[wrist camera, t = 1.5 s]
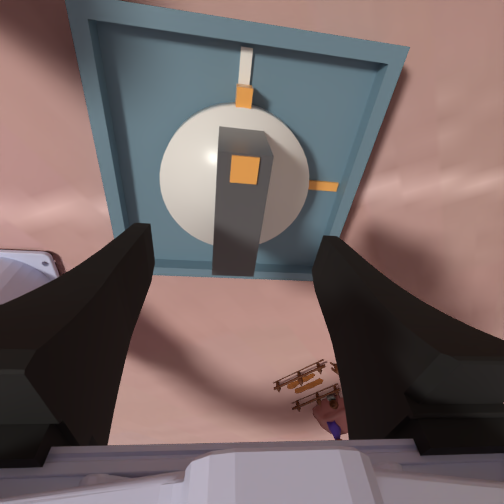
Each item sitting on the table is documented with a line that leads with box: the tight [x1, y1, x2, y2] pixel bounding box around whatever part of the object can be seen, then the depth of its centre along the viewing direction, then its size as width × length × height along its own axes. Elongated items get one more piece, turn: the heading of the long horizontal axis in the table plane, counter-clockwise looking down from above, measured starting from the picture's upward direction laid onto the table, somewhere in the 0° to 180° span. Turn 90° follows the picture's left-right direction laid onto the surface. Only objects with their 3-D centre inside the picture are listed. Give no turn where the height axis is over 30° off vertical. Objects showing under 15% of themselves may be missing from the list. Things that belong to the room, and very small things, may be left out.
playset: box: [274, 359, 348, 440], centre depth 37 cm, size 25×19×7 cm
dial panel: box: [65, 0, 410, 281], centre depth 19 cm, size 16×16×2 cm
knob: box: [160, 83, 309, 277], centre depth 16 cm, size 10×9×6 cm
